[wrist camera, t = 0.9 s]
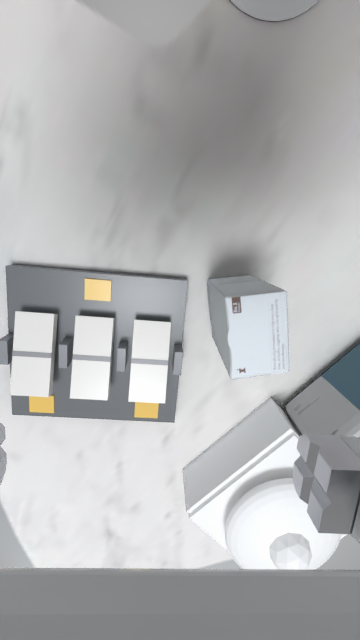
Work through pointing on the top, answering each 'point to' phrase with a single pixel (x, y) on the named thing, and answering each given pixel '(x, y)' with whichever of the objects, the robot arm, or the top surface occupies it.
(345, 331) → the top surface
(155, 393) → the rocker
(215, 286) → the skincare box
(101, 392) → the rocker
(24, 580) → the robot arm
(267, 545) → the white domed box
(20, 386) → the block
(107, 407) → the switch unit
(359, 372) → the stereo radio cassette player
